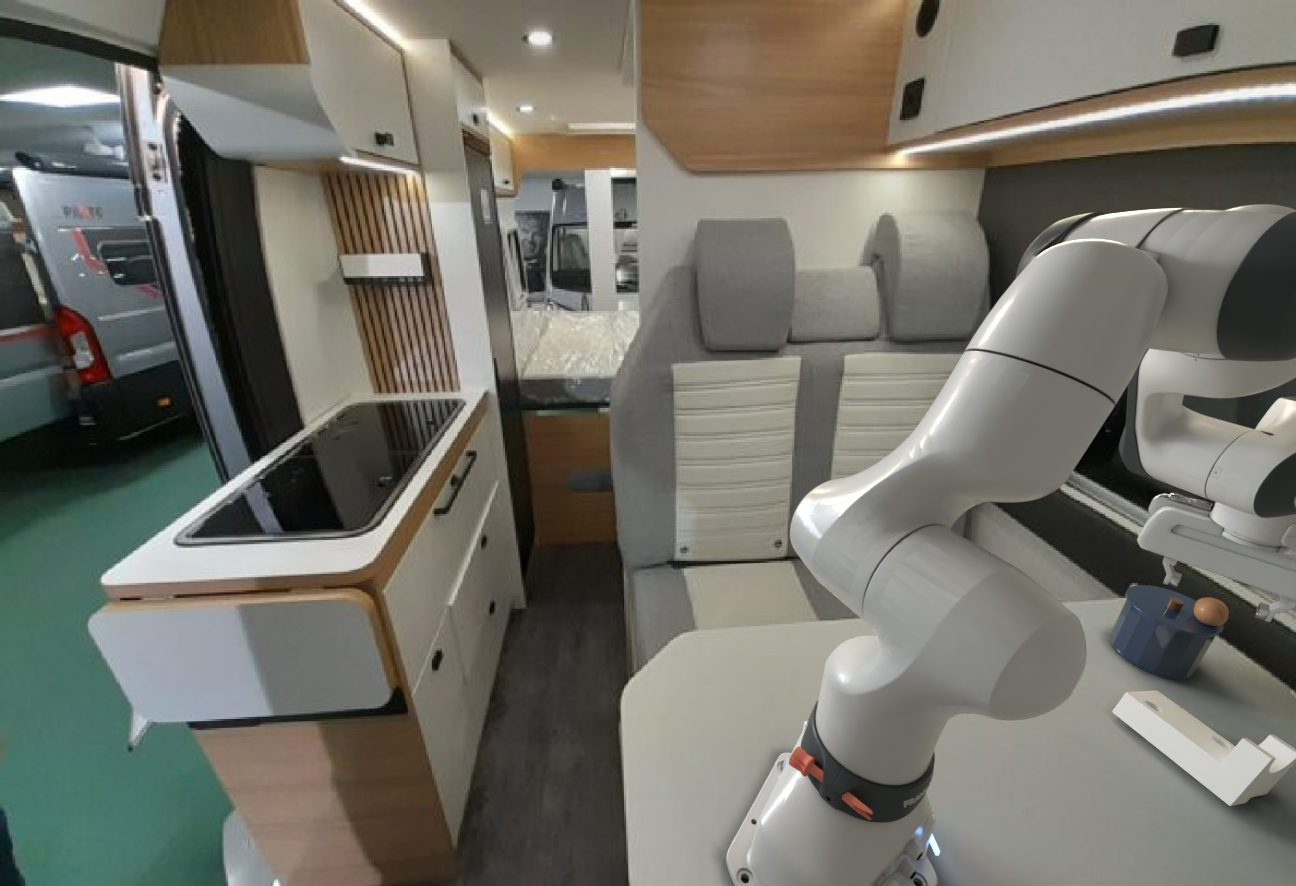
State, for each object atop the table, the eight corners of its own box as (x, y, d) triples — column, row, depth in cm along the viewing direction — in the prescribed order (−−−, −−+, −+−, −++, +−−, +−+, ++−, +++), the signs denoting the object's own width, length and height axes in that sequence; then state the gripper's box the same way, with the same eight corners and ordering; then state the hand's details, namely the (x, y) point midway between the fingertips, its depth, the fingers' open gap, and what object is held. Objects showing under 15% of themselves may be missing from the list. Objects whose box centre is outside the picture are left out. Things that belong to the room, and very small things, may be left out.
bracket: (1261, 799, 64) (1303, 753, 61) (1230, 806, 61) (1271, 758, 59) (1142, 709, 75) (1173, 667, 73) (1111, 711, 73) (1142, 668, 70)
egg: (1217, 634, 75) (1233, 618, 73) (1186, 619, 77) (1201, 603, 75) (1219, 619, 78) (1235, 603, 76) (1190, 605, 80) (1204, 588, 78)
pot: (1189, 691, 77) (1215, 646, 74) (1102, 651, 84) (1123, 609, 80) (1196, 655, 83) (1220, 612, 80) (1115, 621, 90) (1134, 580, 86)
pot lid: (1217, 652, 73) (1225, 638, 72) (1117, 611, 81) (1124, 598, 79) (1222, 615, 80) (1230, 602, 79) (1130, 581, 87) (1136, 568, 86)
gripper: (1154, 495, 75) (1117, 574, 81) (1385, 561, 62) (1322, 651, 67) (1160, 481, 79) (1124, 558, 85) (1379, 541, 66) (1320, 627, 71)
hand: (1213, 600), depth 76 cm, fingers open, 8 cm apart
